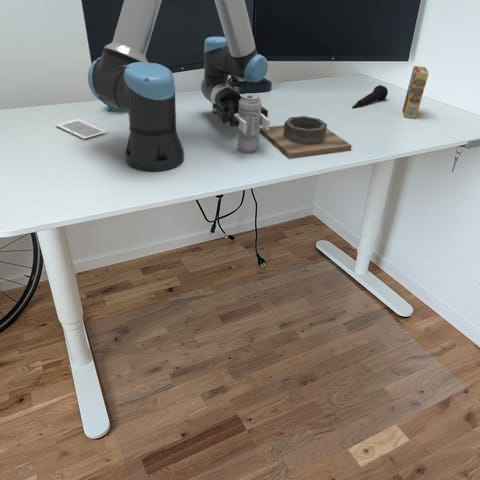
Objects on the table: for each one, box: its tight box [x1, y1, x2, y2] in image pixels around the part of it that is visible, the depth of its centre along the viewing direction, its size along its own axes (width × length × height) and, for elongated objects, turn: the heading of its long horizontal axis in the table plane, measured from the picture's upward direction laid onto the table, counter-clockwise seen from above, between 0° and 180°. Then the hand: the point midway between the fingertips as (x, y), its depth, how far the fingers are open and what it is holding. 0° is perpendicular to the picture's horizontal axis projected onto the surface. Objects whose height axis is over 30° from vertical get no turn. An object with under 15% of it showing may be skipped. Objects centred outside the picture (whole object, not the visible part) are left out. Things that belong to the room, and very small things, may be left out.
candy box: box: [402, 65, 429, 119], centre depth 156 cm, size 9×4×15 cm, turn 167°
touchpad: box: [55, 118, 108, 140], centre depth 136 cm, size 8×15×2 cm, turn 49°
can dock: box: [259, 115, 352, 159], centre depth 135 cm, size 20×20×6 cm
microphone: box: [351, 84, 389, 109], centre depth 169 cm, size 6×6×20 cm
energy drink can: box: [236, 92, 262, 154], centre depth 125 cm, size 6×6×15 cm
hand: (256, 126), depth 121 cm, fingers closed on energy drink can, 6 cm apart
